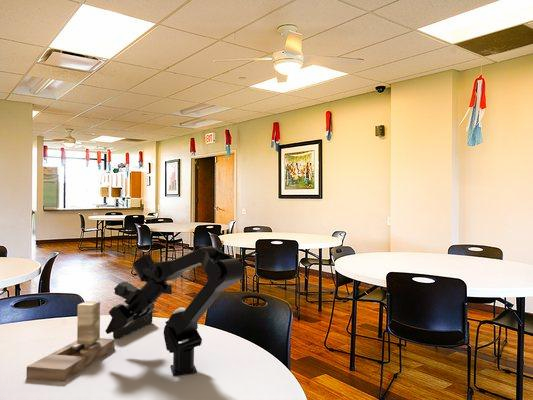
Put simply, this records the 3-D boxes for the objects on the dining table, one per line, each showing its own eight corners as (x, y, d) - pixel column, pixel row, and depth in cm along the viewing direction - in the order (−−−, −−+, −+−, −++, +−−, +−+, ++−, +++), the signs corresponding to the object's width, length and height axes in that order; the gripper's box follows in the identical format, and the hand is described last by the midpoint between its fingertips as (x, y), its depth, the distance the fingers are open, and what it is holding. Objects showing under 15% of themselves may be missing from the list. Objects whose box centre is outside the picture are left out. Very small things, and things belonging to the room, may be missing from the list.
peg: (91, 355, 120) (91, 305, 120) (76, 354, 121) (76, 304, 121) (100, 349, 125) (101, 301, 125) (86, 348, 126) (86, 301, 126)
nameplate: (148, 322, 157) (148, 297, 157) (152, 323, 156) (152, 297, 157) (112, 339, 137) (113, 310, 137) (117, 339, 136) (118, 310, 137)
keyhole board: (64, 381, 103) (64, 369, 103) (26, 378, 105) (26, 366, 105) (114, 348, 127) (114, 339, 127) (83, 346, 129) (83, 336, 129)
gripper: (145, 269, 130) (114, 301, 132) (115, 278, 112) (79, 316, 113) (168, 294, 129) (136, 326, 130) (141, 308, 110) (104, 346, 112)
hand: (114, 328), depth 122 cm, fingers open, 9 cm apart
